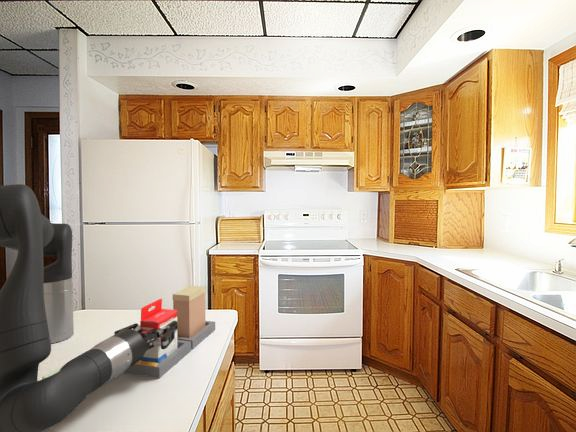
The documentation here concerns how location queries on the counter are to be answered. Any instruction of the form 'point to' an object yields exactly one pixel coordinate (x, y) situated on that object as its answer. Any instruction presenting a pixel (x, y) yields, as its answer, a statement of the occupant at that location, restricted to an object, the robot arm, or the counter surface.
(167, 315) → the ink box
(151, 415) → the counter surface
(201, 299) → the cartridge
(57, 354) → the counter surface
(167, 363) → the grey holder frame
